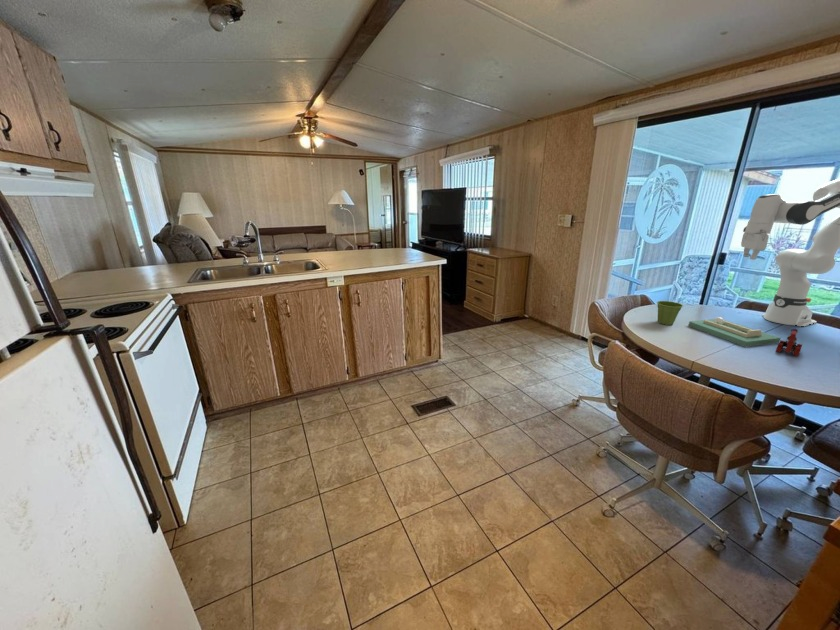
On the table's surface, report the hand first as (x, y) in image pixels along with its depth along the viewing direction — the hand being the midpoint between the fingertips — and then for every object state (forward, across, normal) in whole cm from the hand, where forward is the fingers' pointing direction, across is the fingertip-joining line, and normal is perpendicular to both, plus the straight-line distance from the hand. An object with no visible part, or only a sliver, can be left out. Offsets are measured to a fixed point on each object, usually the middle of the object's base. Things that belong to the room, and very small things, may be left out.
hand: (748, 258), depth 165 cm
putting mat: (+37, -9, 0) cm, 38 cm away
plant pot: (+38, -4, +27) cm, 47 cm away
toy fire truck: (+38, -25, -16) cm, 48 cm away
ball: (+33, -4, +5) cm, 33 cm away
